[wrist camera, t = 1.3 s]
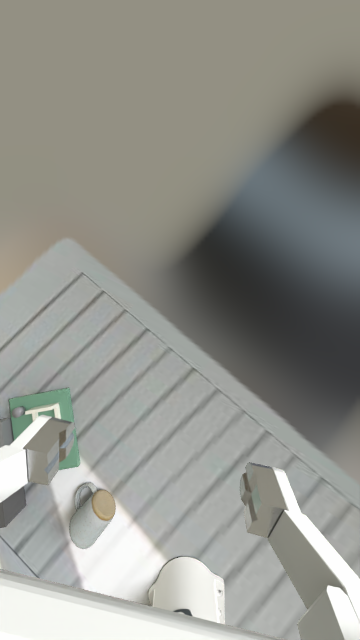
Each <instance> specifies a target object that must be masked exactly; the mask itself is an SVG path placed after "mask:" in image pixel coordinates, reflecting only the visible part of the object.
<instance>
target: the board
mask: <svg viewBox="0 0 360 640" xmlns="http://www.w3.org/2000/svg"><path fill="white" fill-rule="evenodd" d="M9 403H10V412H11V420H12V428H13V436H14V440H15V439H16V438H17V437H18V436H19V435H20V434H21V433H22V432H23V431H24V430H25V429H26V428H27V427H28V426H29V425H30V424H31V423H32V422H33V421H34V420H35V419H36V418H37V417H39V416H41V415H46V416H51V417H55V418H58V419H62V420H66V421H70V422H74V417H73V410H72V403H71V396H70V389H69V388H64V389H58V390H53V391H48V392H42V393H37V394H32V395H26V396H21V397H16V398H12V399H9ZM72 433H73V434H74V443H73V446H72V448H71V451H70V453H69V454H68V456H67V457H66V459H64V460H63V461H61V462H60V463H59V470H62V469H67V468H73V467H78V466H79V465H80V459H79V452H78V445H77V438H76V431H75V429H74V430H73V431H72Z"/></svg>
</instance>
